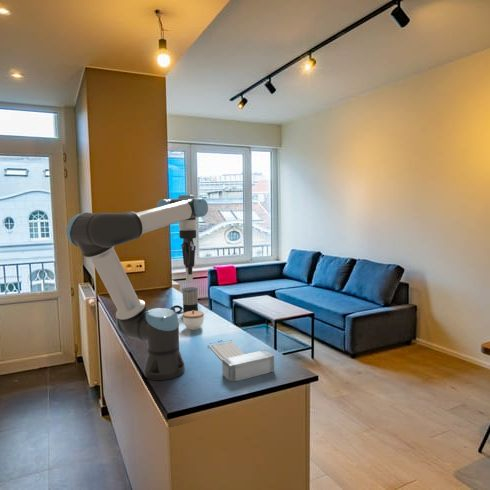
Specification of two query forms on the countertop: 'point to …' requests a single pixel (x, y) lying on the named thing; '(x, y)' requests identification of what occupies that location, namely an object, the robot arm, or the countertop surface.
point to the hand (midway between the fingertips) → (189, 281)
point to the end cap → (247, 365)
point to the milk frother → (188, 300)
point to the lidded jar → (193, 319)
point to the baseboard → (226, 350)
